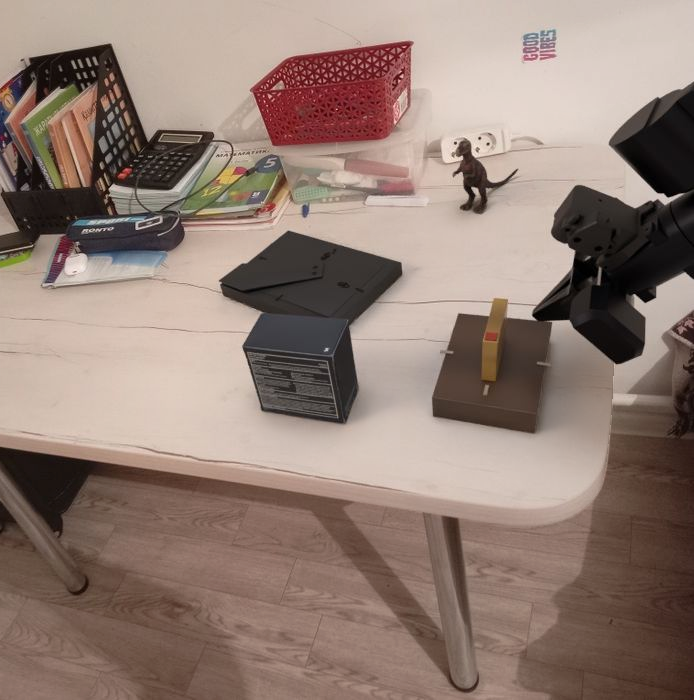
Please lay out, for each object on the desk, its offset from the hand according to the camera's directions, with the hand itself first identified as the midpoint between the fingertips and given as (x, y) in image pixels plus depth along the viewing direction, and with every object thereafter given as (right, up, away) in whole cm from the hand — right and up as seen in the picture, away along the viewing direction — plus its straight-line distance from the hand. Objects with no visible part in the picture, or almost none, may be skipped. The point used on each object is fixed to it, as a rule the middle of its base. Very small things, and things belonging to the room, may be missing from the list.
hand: (535, 316), depth 63 cm
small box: (-22, -9, +10) cm, 26 cm away
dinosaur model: (+8, +20, +32) cm, 39 cm away
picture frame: (-20, +6, +26) cm, 33 cm away
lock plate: (-2, -7, +5) cm, 9 cm away
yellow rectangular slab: (-3, -4, +3) cm, 6 cm away
